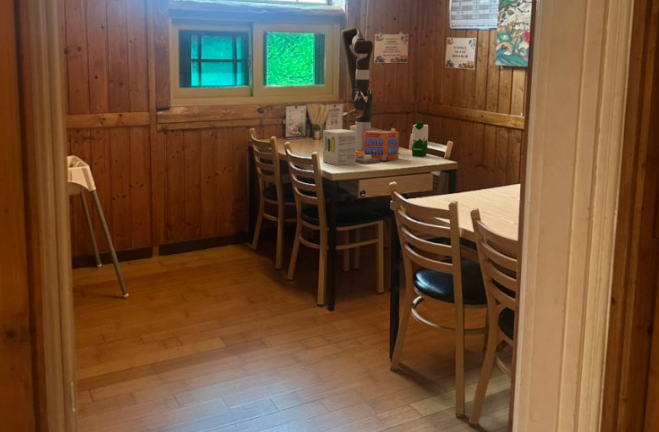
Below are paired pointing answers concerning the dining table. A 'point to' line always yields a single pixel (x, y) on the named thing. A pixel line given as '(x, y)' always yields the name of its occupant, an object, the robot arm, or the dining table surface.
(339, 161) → the supplement box
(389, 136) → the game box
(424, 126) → the milk carton
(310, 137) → the dining table surface
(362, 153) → the breaker paddle
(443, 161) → the dining table surface
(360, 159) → the breaker panel
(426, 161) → the dining table surface
